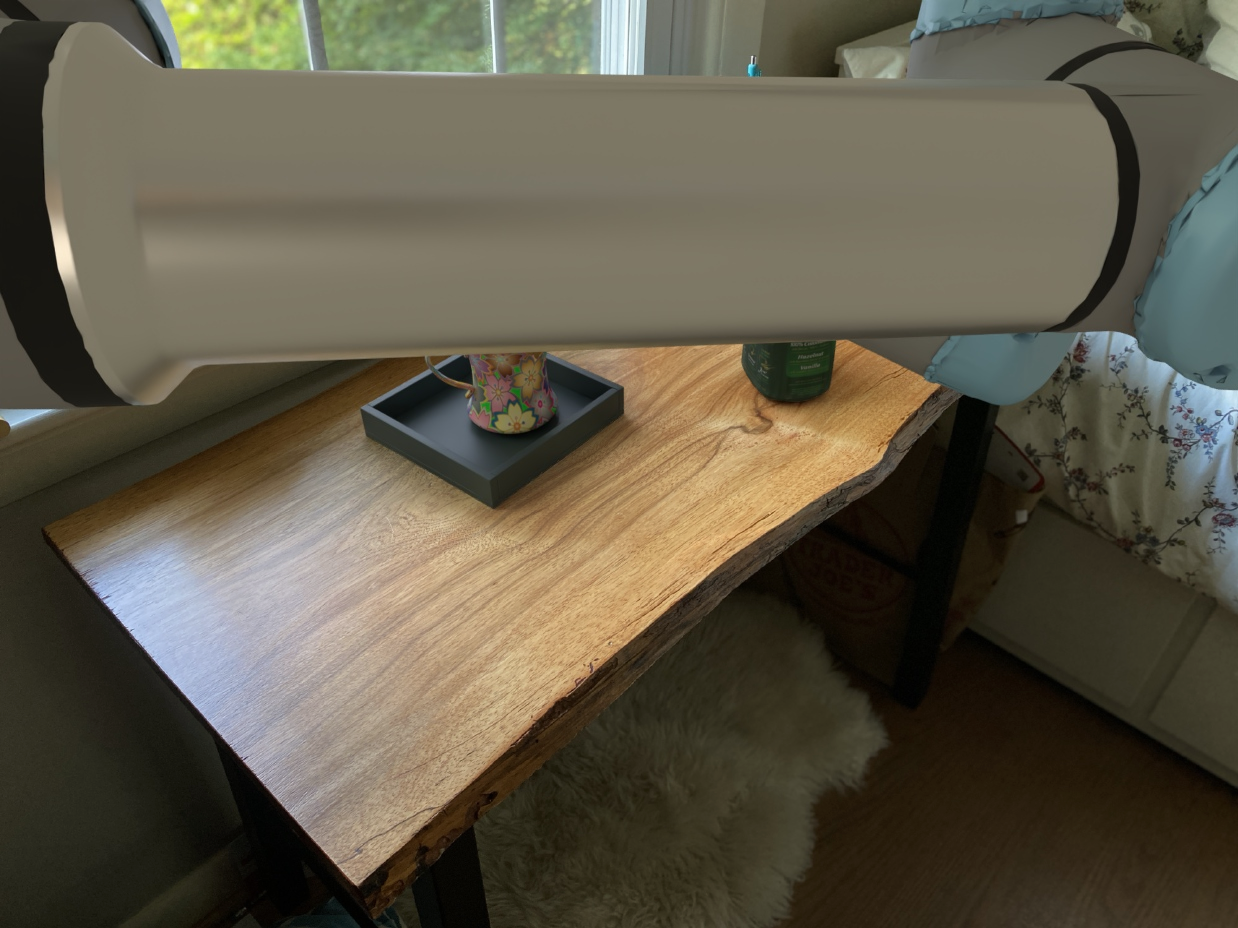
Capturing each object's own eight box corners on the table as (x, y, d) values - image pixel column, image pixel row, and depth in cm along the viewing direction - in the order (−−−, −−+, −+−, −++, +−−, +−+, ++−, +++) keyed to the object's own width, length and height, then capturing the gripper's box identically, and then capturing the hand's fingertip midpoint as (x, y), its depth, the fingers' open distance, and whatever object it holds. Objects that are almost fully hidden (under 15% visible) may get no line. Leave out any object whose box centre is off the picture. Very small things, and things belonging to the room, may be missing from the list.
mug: (543, 377, 92) (537, 281, 86) (577, 428, 86) (573, 328, 79) (424, 405, 89) (408, 306, 82) (450, 460, 82) (434, 358, 75)
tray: (493, 509, 78) (489, 480, 76) (365, 435, 86) (359, 407, 84) (624, 413, 89) (624, 386, 87) (499, 356, 97) (497, 330, 95)
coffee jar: (841, 399, 90) (873, 218, 79) (765, 411, 89) (786, 228, 77) (802, 349, 98) (826, 176, 86) (730, 359, 96) (745, 185, 85)
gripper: (623, 378, 47) (396, 243, 59) (905, 234, 60) (672, 148, 72) (624, 239, 42) (377, 124, 54) (930, 117, 56) (676, 46, 68)
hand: (545, 137), depth 63 cm, fingers open, 13 cm apart
